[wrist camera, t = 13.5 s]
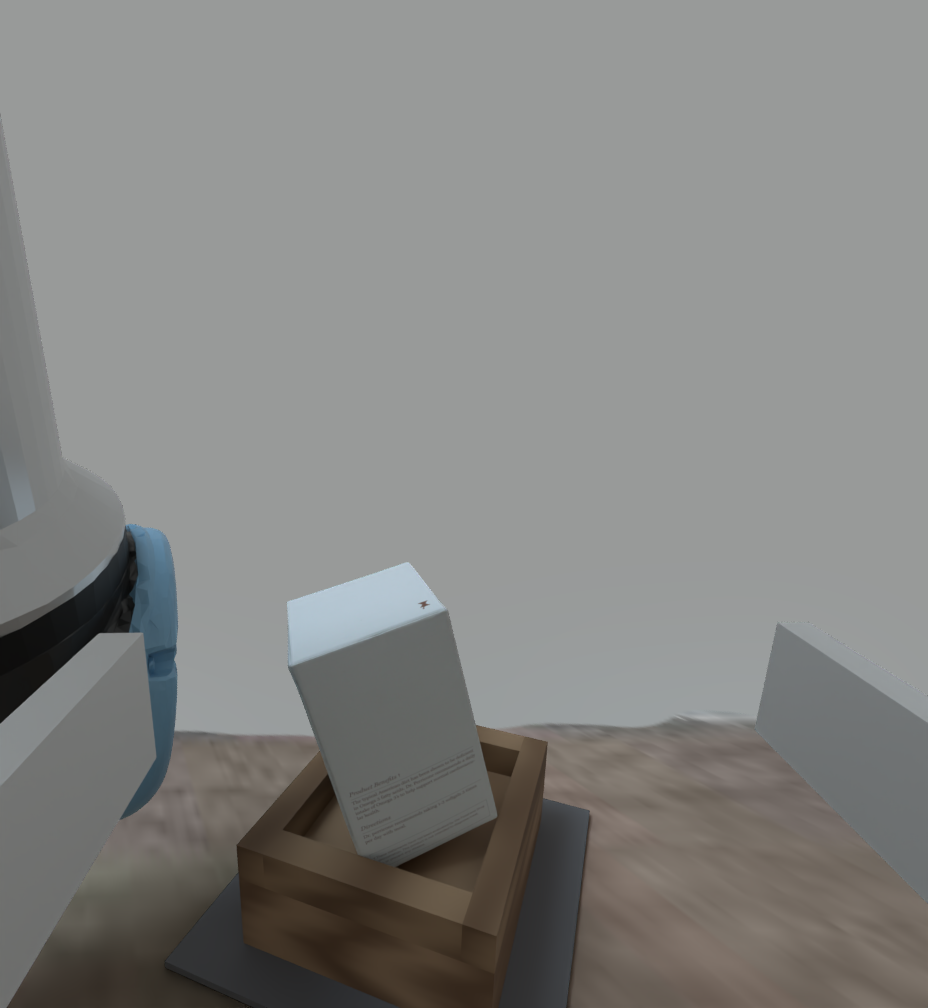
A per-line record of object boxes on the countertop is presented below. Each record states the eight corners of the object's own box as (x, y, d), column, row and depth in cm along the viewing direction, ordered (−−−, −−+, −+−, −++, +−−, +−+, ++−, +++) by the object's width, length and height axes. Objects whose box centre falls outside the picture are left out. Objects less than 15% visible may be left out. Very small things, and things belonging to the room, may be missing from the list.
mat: (165, 967, 26) (164, 961, 26) (343, 749, 42) (343, 745, 42) (550, 1142, 21) (551, 1134, 21) (589, 815, 37) (589, 810, 36)
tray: (243, 942, 27) (236, 845, 26) (365, 771, 39) (365, 699, 38) (489, 1044, 23) (496, 936, 22) (541, 820, 35) (547, 741, 34)
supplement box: (457, 734, 35) (412, 557, 31) (501, 821, 28) (450, 606, 24) (345, 781, 33) (284, 598, 29) (362, 887, 26) (285, 664, 22)
